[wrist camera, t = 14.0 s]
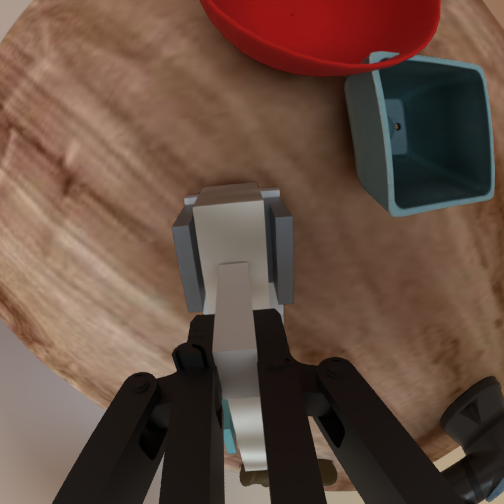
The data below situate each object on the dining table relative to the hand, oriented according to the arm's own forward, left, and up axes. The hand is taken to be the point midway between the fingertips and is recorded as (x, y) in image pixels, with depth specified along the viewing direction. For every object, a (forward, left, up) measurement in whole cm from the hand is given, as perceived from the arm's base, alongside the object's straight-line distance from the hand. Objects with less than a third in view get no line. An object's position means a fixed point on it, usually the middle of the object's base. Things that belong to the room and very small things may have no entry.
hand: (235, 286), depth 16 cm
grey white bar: (-11, 0, -5) cm, 12 cm away
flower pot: (+8, -12, -9) cm, 17 cm away
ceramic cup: (+19, -5, -8) cm, 22 cm away
